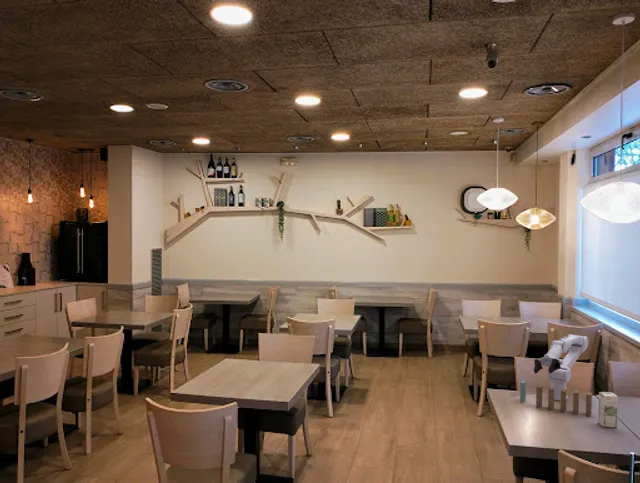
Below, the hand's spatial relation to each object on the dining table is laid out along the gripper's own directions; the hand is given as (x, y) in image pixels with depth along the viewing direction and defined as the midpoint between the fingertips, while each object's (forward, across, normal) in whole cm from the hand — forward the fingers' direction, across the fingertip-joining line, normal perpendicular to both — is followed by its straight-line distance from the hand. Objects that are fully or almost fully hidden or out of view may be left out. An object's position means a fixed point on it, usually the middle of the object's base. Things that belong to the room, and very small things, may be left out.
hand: (542, 371), depth 265 cm
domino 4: (+4, +5, +20) cm, 20 cm away
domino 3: (+5, 0, +18) cm, 18 cm away
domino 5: (+3, +10, +21) cm, 24 cm away
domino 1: (+4, -15, +15) cm, 21 cm away
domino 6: (+2, +15, +23) cm, 27 cm away
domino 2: (+6, -6, +16) cm, 18 cm away
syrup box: (+9, +26, +22) cm, 36 cm away
